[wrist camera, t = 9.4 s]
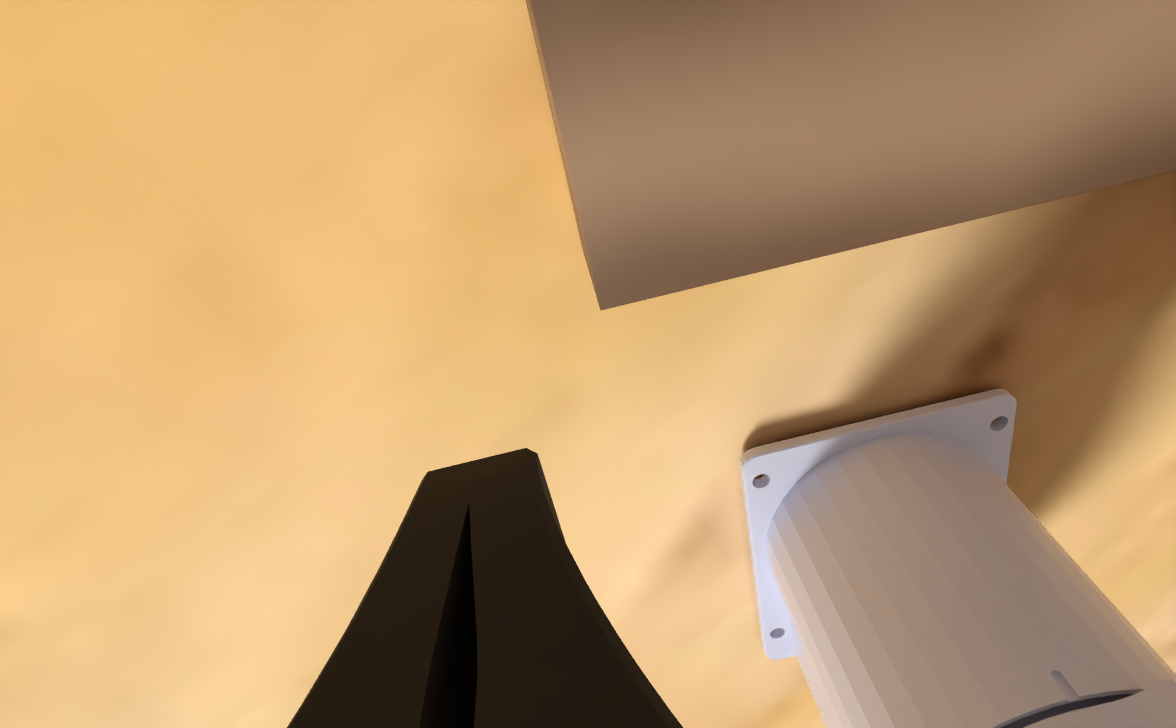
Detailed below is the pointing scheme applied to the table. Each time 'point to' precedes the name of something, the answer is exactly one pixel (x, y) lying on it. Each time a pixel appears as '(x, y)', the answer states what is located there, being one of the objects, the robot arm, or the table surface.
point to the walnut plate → (837, 122)
